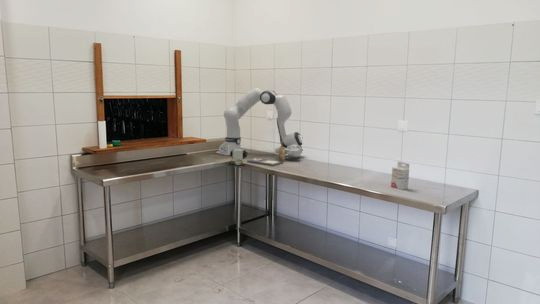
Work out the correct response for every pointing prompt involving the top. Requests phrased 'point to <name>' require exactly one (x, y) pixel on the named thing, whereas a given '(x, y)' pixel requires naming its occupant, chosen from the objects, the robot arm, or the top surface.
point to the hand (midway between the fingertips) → (281, 152)
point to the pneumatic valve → (238, 155)
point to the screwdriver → (281, 153)
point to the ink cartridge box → (400, 176)
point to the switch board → (265, 162)
